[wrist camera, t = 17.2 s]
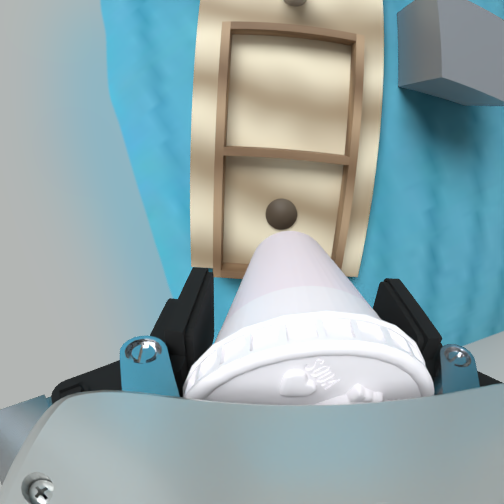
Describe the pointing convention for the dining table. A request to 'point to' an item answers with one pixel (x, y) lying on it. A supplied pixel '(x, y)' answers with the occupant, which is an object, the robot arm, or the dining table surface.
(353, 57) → the board
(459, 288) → the dining table surface
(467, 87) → the gray cube
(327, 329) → the smoothie
